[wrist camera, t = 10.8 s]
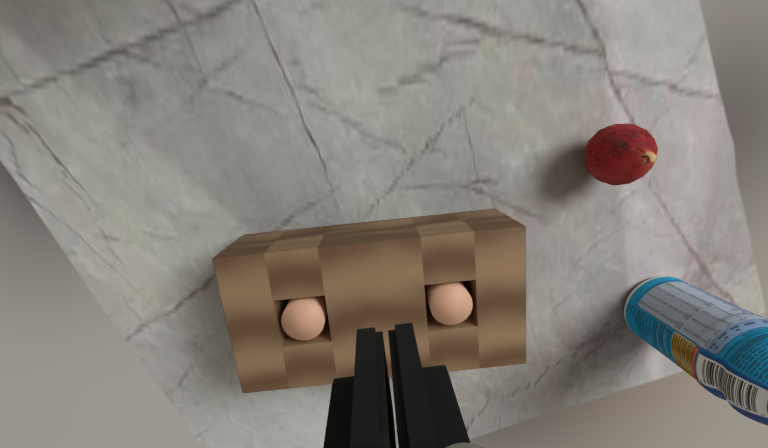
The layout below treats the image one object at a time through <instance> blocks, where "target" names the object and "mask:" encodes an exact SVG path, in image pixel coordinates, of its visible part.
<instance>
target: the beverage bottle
mask: <svg viewBox="0 0 768 448" xmlns="http://www.w3.org/2000/svg"><path fill="white" fill-rule="evenodd" d="M624 318H625V322H626V324H627V326H628V327H629V329H630V330H631V331H632V332H633V333H634V334H636V335H637V336H638V337H640V338H641V339H643V340H645V341H646V342H648V343H649V344H650V345H651V346H653V347H654V348H655V349H657V350H658V351H659V352H661V353H662V354H663V355H665V356H666V357H667V358H669V359H670V360H671V361H672V362H674V363H675V364H676V365H678V366H679V367H680V368H682V369H683V370H684V371H686V372H687V373H688V374H689V375H691V376H692V377H693V378H695V379H696V380H697V381H698V383H699V384H700V385H701V386H703V387H704V388H705V389H706V390H708V391H709V392H710V393H712V394H714V395H715V396H717V397H719V398H721V399H724V400H727V401H728V402H729V404H730V405H731V406H732V407H733V408H734V409H735V410H736V411H738V412H739V413H741V414H742V415H744V416H746V417H748V418H750V419H752V420H755V421H757V422H760V423H762V424H765V425H768V318H765V317H763V316H760V315H756V314H753V313H751V312H748V311H746V310H744V309H742V308H740V307H737V306H735V305H733V304H731V303H729V302H726V301H724V300H722V299H720V298H718V297H715V296H713V295H711V294H709V293H707V292H704V291H702V290H700V289H698V288H696V287H694V286H692V285H690V284H688V283H686V282H684V281H682V280H680V279H677V278H674V277H670V276H658V277H653V278H650V279H648V280H646V281H644V282H642V283H640V284H639V285H638V286H637V287H635V288H634V289H633V291H632V292H631V293H630V295H629V296H628V298H627V300H626V303H625V306H624Z"/></svg>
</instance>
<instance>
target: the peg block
mask: <svg viewBox="0 0 768 448" xmlns="http://www.w3.org/2000/svg"><path fill="white" fill-rule="evenodd" d="M212 260H213V265H214V269H215V274H216V278H217V282H218V287H219V291H220V296H221V300H222V304H223V309H224V313H225V317H226V322H227V326H228V331H229V335H230V339H231V344H232V348H233V353H234V357H235V361H236V366H237V370H238V375H239V379H240V383H241V388H242V392H243V393H250V392H259V391H269V390H278V389H288V388H297V387H307V386H316V385H326V384H333V380H334V378H342V377H350V376H354V368H355V351H356V334H357V329H363V328H371V327H375V330H376V332H379V331H382V332H383V339H384V346H385V354H386V361H387V369H388V377H389V378H392V369H391V358H390V347H389V336H388V330H395V325H396V324H404V323H412V324H413V328H414V333H415V338H416V342H417V347H418V352H419V356H420V361H421V366H422V367H430V366H438V365H445V366H446V368H447V371H448V372H449V371H459V370H468V369H478V368H487V367H497V366H506V365H516V364H525V363H526V226H524V225H522V224H521V223H519V222H517V221H516V220H514V219H512V218H510V217H509V216H507V215H505V214H504V213H502V212H500V211H498V210H497V209H488V210H479V211H469V212H459V213H450V214H440V215H430V216H421V217H411V218H401V219H392V220H382V221H372V222H363V223H353V224H343V225H333V226H324V227H314V228H304V229H295V230H285V231H275V232H266V233H256V234H246V235H243V236H242V237H240V238H239V239H238V240H236V241H235V242H234V243H232V244H231V245H230V246H228V247H227V248H226V249H224V250H223V251H222V252H220V253H219V254H218V255H217V256H215V257H214V258H213V259H212ZM458 281H462V283H463V284H464V286H465V288H466V289H467V291H468V293H469V294H470V296H471V298H472V302H473V307H472V311H471V313H470V315H469V316H468V318H467V319H466V320H464V321H463V322H461V323H459V324H456V325H445V324H442V323H440V322H438V321H437V320H436V319H435V318H434V317H433V315H432V313H431V310H430V307H429V304H428V301H427V298H426V295H425V287H424V285H429V284H439V283H449V282H458ZM324 295H325V300H326V307H327V316H326V320H325V324H324V327H323V330H322V331H321V333H320V334H319V335H318V336H317V337H315V338H313V339H310V340H304V341H303V340H297V339H294V338H292V337H290V336H289V335H288V334H287V333H286V332H285V331H284V329H283V327H282V323H281V318H282V314H283V312H284V310H285V308H286V306H287V304H288V302H289V300H290V299H295V298H305V297H314V296H324Z"/></svg>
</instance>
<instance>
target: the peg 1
mask: <svg viewBox="0 0 768 448" xmlns="http://www.w3.org/2000/svg"><path fill="white" fill-rule="evenodd" d="M326 316H327V307H326V300H325V295H324V296H314V297H305V298H295V299H290V300H289V302H288V304H287V306H286V308H285V310H284V312H283V314H282V318H281V323H282V327H283V329H284V331H285V332H286V333H287V334H288V335H289V336H290V337H292V338H294V339H297V340H303V341H304V340H310V339H313V338H315V337H317V336H318V335H319V334H320V333H321V331H322V330H323V327H324V324H325V320H326Z"/></svg>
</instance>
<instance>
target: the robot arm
mask: <svg viewBox="0 0 768 448" xmlns="http://www.w3.org/2000/svg"><path fill="white" fill-rule="evenodd" d="M388 336H389V347H390V358H391V369H392V380H393V391H394V402H395V413H396V424H397V434H398V443H399V448H483V447H481V446H479V445H476V444H471V443H470V441H469V437H468V434H467V431H466V428H465V425H464V422H463V418H462V415H461V412H460V409H459V406H458V403H457V399H456V396H455V393H454V390H453V387H452V384H451V380H450V377H449V374H448V371H447V368H446V366H445V365H438V366H430V367H422V366H421V361H420V356H419V352H418V347H417V342H416V338H415V333H414V328H413V324H412V323H404V324H396V325H395V330H388ZM324 448H396V441H395V429H394V417H393V407H392V399H391V392H390V384H389V377H388V369H387V361H386V354H385V346H384V339H383V332H382V331H379V332H376V330H375V327H371V328H363V329H357V334H356V351H355V368H354V376H350V377H342V378H334V380H333V384H332V391H331V398H330V405H329V412H328V419H327V427H326V434H325V441H324Z"/></svg>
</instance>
